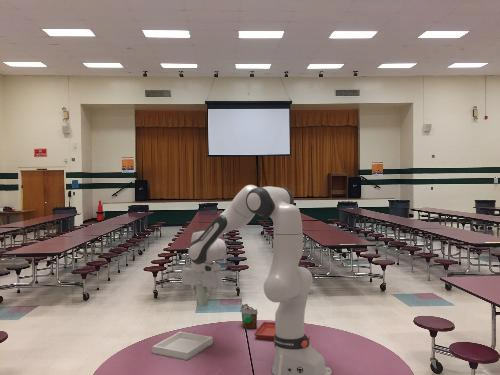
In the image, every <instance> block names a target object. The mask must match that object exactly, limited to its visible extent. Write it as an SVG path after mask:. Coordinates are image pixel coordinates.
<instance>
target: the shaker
mask: <svg viewBox="0 0 500 375" xmlns="http://www.w3.org/2000/svg"><path fill="white" fill-rule="evenodd" d="M207 291H208V289H207V287H204V286H203V285H202V281H199V280H197V284H196V295H195V297H196V307H206V306H208V297H207V296H205V292H207Z"/></svg>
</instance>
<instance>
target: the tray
mask: <svg viewBox="0 0 500 375" xmlns="http://www.w3.org/2000/svg"><path fill="white" fill-rule="evenodd" d="M212 345H214V338H213V336H210V335H203V334H196V333H190V332H184V331H178V332H176V333H175V334H173V335H170V336H169V337H167V338H165V339H163V340H161V341H159V342H158V343H156V344H154V345H153V346H151V347H152V348H151V350H152V354H155V355H160V356H165V357H168V358H174V359H179V360H184V361H189V360H190V359H192V358H194V357H195V356H196V355H198V354H200V353H201V352H203V351H204V350H205V349H207V348H208V347H210V346H212Z"/></svg>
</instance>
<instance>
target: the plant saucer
mask: <svg viewBox="0 0 500 375" xmlns="http://www.w3.org/2000/svg"><path fill="white" fill-rule="evenodd" d="M274 334H275V321H274V322H271V321H263V322H262V323H261V324H260V325H259V327H258V328H257V329H256V330H255V332H254V333H253V335H254V336H255V337H256V338H257V339H258V340H264V341H274Z"/></svg>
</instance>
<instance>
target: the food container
mask: <svg viewBox="0 0 500 375" xmlns="http://www.w3.org/2000/svg"><path fill="white" fill-rule="evenodd" d="M239 312H240V313H241V321H242V322H241V323H242V328H243V329H245V330H257V329H258V328H257V326H258V309H254V308H253V306H252V307H251V306H249V304H248V303H245V304H242V305H241V306H240V310H239Z"/></svg>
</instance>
